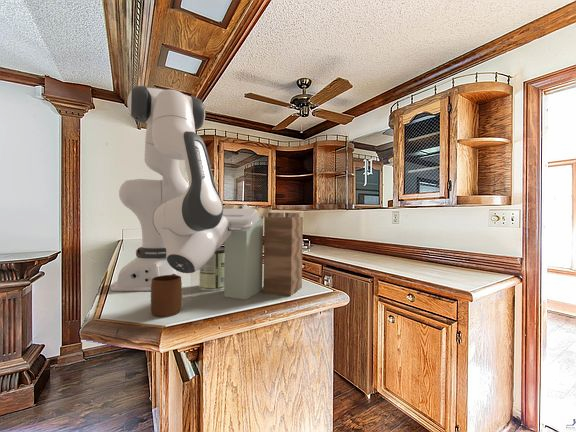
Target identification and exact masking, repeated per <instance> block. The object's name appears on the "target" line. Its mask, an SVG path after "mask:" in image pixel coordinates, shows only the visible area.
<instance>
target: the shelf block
mask: <svg viewBox="0 0 576 432" xmlns="http://www.w3.org/2000/svg"><path fill="white" fill-rule="evenodd" d="M224 248H225V257H224V289H223V297H225V298H231V299H232V298H233V299H238V300H239V299H241V300H248V299H249V298H251V297H252V296H254V295H256V294H258V293H260V292H261V291H263V275H264V217H259V221H258V222H257V223H256V224H255V225H254V226H253V227H252V228H251V229H249V230H248V231H231V234H230V236H229V237H228V238H227V240H226V241H225V242H224Z"/></svg>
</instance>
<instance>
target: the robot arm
mask: <svg viewBox="0 0 576 432" xmlns="http://www.w3.org/2000/svg"><path fill="white" fill-rule="evenodd" d="M127 96H128V97H127V101H126V102H127V103H126V104H127V109H128V111H129V113H130V116H131V118H132V119H133V120H134V121H136V122H138V123H141V124H147V125H146V131H145V138H144V139H145V143H144V144H145V145H144V159H143V160H144V163H145V165H146V166H147V167H148V168H149V170H151V171H153V172H155V173H157V174H159V175H160V176H162V179H149V178H148V179H147V178H145V179H144V178H136V179H127V180H125V181H124V182H123V183H122V184H121V186H120V188H119V191H118V196H119V200H120V201H121V203H122V204H123V205H124V206H125V207H126V208H127V209H129V210H130V211H131V212H132V213H133V214H134V215H135V216H136V217H137V219H138V221H139V224H140V228H141V238H142V240H141V241H142V243H141V244H142V246H140V247H138V248H137V249H135V255H136V257H135V258H134V259H133V260H131V261H130V262H129V263H127V264H126V265H125V266H123V267H122V268H121V269H120V270H119V273H118V276H117V280H116V281H114V282H113V283H112V284H110V285H109V290H110V291H112V292H114V291H115V292H117V291H118V292H123V291H124V292H125V291H128V292H136V291H137V292H145V291H147V292H149V291H150V292H151V283H152V278H154V277H158V276H164V275H172V274H176V275H177V276H178V274H177V273H178V272H180V273H183V274H193V273H196V272H197V271H200V268H201V267H202V266H203V265H204V264H206V263H207V262H208V260H209V259H210V258H211V257H212V256H213V255H214V253H215V251H216V249H218V248H219V247H222V246H223V245H224V244H225V241H226V240H227V238H228V237H229V236H230V234H231V231H248V230H249V229H251V228H252V227H253V226H254V225H255V224H256V223H257V222H258V221H259V215H258V212H257V210H256V209H248V207H247V206H248V204H246V203H243V204H241V205H240V208H241V209H224V206H225V205H231V204H230V203H228V204H227V203H226V204H225V205H223V200H222V198H221V196H220V194H219V191H218V189H217V186H216V182H215V178H214V175H213V171H212V170H213V169H212V165H211V161H210V157H209V154H208V149H207V147H206V144H205V141H204V140H203V138H202V137H201V136H200V135H199V134H197V132H196V131H198V130H199V129H201V128H202V127H203V124H204V122H205V119H206V110H205V104H204V103H203V100H201V99H200V98H198V97H196V96H194V95H191V96H190V95H188V94H184V93H182V92H181V91H179V90H175V89H161V88H156V87H155V88H154V87H148V86H146V85H135V86H134V87H132V88H131V91H130V92H129V93H128V95H127ZM180 161H184V165H185V169H186V174H187V179H188V181H186V179H185V178H184V176H183V175H182V172H181V169H180Z"/></svg>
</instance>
